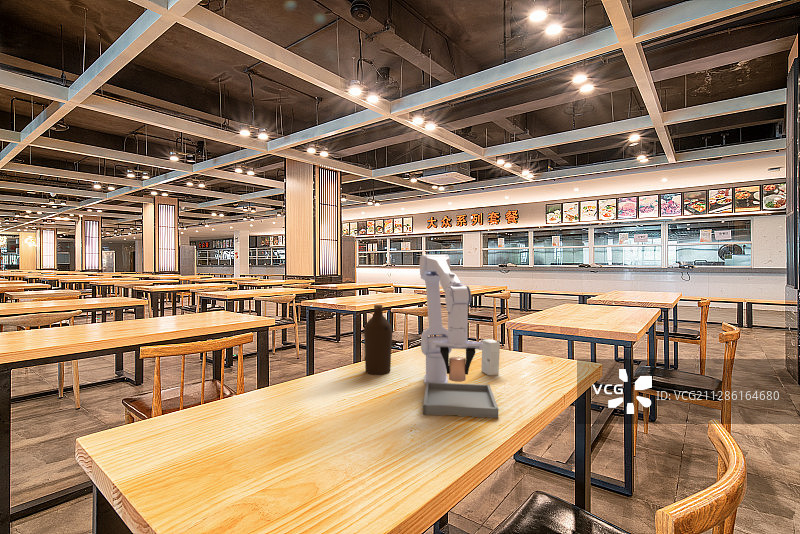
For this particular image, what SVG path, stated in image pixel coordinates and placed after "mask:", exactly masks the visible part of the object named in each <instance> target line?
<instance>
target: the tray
mask: <svg viewBox="0 0 800 534" xmlns="http://www.w3.org/2000/svg"><path fill="white" fill-rule="evenodd" d="M423 396H424V397H423V402H422V404H423V405H422V410H423V411H422V414H424V415H426V416H443V415H460V416H459V417H464V416H472V417H471V418H484V417H487V419H488V418H489V419H499V406H498V404H497V402H496V399H495V396H494V394H493V391H492V388H491V386H490V384H481V383H480V384H478V383H457V382H455V383H453V382H452V383H451V382H450V383H449V382H448V383H431V382H426V383H425V389H424V395H423ZM424 415H423V416H424Z"/></svg>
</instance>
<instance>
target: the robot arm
mask: <svg viewBox="0 0 800 534" xmlns="http://www.w3.org/2000/svg"><path fill="white" fill-rule="evenodd" d="M419 275H420V279H421V280H423V281H424V282H425V290H426V291H425V293H426V307H427V319H428V320H427V323H428V326H427V328H426V329H424V330H423V331H422V332H421V339H420V349H421V352H422V354H423V355H424V356H425V374H424V381H423V384H426V382H431V383H449V382H448V380H449V376H448V375H449V358H450V356H449V355H450V354H451V352H452V349H453V350H455V349H456V350H458V349H459V350H465V359H466V375H469V370H470V367H471V363H472V362H473V359H474V357H475V355H476V350H479V351H482V350H483V343H482V341H471V340H468V325H469V324H468V318H469V317H468V312H469V310H468V306H470V304H471V302H472V291H471V288H470V287H469V285H465V284H462V282H461V281H460V279H459V277H458V275H457V274H456V273H454V272H451V259H450V256H449V254H448V253H447V254H425V253H422V254H421V256H420V258H419ZM440 286H441V288H442V290H443V292H444V294H445V295H444V299H445V307H446V308H445V309H446V312H447V329H446V328H445V327H444V326H443V319H442V318H443V317H442V306H441V304H442V303H441V292H440V291H441V290H440Z"/></svg>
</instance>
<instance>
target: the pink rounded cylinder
mask: <svg viewBox="0 0 800 534" xmlns="http://www.w3.org/2000/svg"><path fill="white" fill-rule="evenodd" d="M448 380H449V381H451V382H455V383H461V382H465V381H466V357H461V356H451V357H449V374H448Z"/></svg>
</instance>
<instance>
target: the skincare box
mask: <svg viewBox="0 0 800 534" xmlns="http://www.w3.org/2000/svg"><path fill="white" fill-rule="evenodd" d="M481 342H482V343H483V350H481V366H480V367H481V372H482V373H484V374H485V375H488V376H499V373H500V348H501V343H500V342H499V341H497V340H495V339H492V338H490V339H489V338H488V339H482V341H481Z"/></svg>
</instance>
